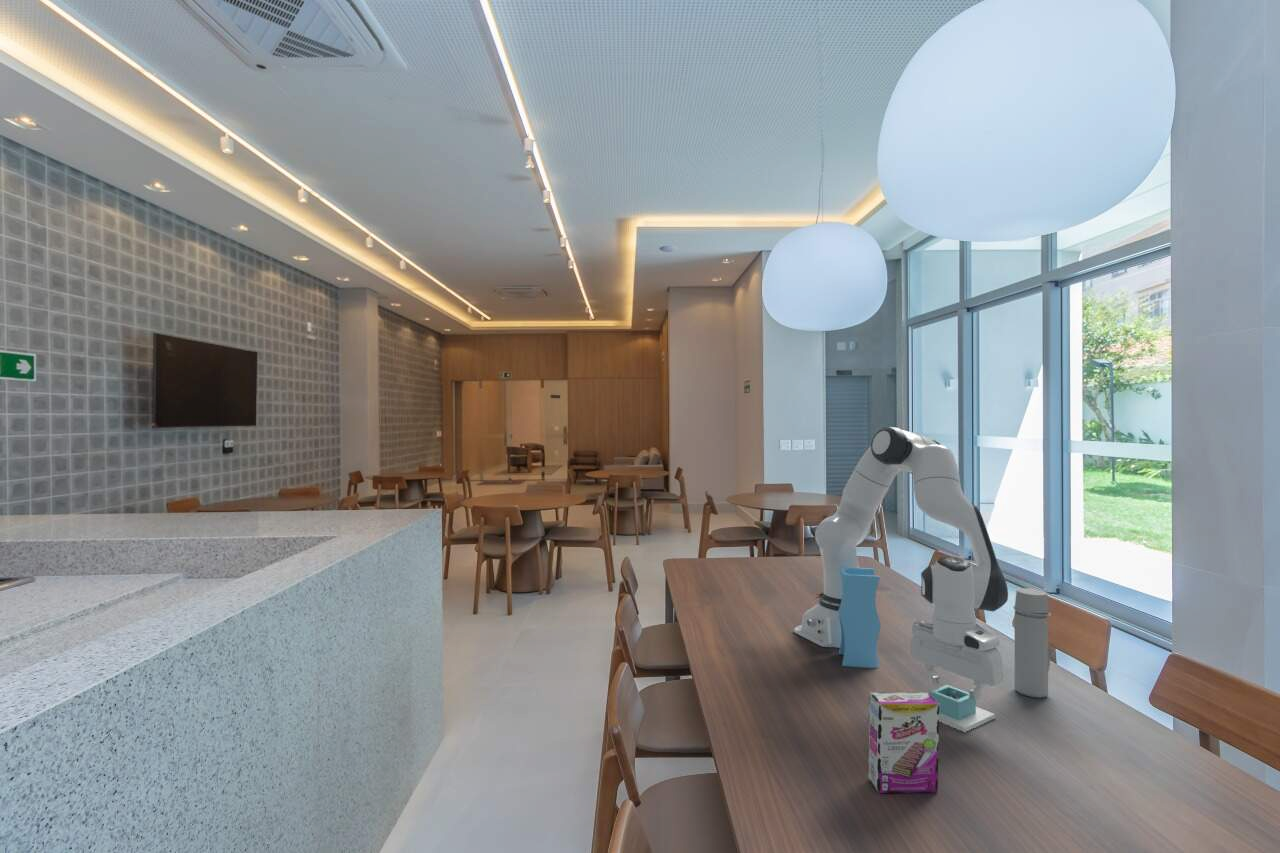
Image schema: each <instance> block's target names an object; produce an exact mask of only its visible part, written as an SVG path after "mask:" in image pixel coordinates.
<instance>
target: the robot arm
mask: <svg viewBox="0 0 1280 853" xmlns="http://www.w3.org/2000/svg"><path fill="white" fill-rule="evenodd" d="M900 472H907V473H909V474H912V477H913V478H912V479H913V490H914V491H913V492H914V499H915V503H916V505H917V507H918V509H919V510H920V511H921V512H922V513H924V514H925V515H926V516H928V517H929V518H931V519H933V520H935V521H937V522H941V523H944V524H946V525H949V526H952V527H954V528H955V529H957V530H960V531H961V532H962V533H963V534H965V536H966V537H967V538H968V541H969V545H970V548H971V550H972V554H973V558H974V561H975V563H976V566H973V565H972V563H971V562H970V561H968V560H966V559H965V558H961V557H957V556H942V557H939V558H937V559H936V560H935V563H934V564H932V565H929V566H927V567H925V569H924V570H923V571H921V572H920V575H921V584H920V585H921V586H920V587H921V591H920V595H921V596H922V597H923V599H925V600H926V601H927V602H928V603H930V604H931V605H934V608H933V611H932V623H929V622H925V621H923V620H917V621H914V623H913V624H912V625H911V633H912V634H911V641H910V648H909V649H910V650H909V654H910V656H911V658H912V659H913V660H916V661H918V662H921V663H924V669H925V670H926V674H927V675H928V676H929V677H928V678H929V680H928V681H929V683H930V684H932V685H935V686H937V685H939V684H940V682H941V681H940V675H937V674H936V671H935V669H934V668H939V669H941V670H943V671H946V672H950V673H952V674H956V675H958V676H960V677H964V678H967V679H970V680H972V681H973V685H974V686H975V687H974V688H972V689H969V691H968V693H969V694H970V695H969V698H971V699H974V700H976V701H978V700H980V699H981V698H980V697H981V691H982V689H984V687H985V686H986V685H987V686H990V687H994V686H997V685H998V684H999V685H1000V683H1002V681H1003V680H1004V665H1003V658H1002V654H1001V652H1000V651H999V649H998V648H997V647H999V646H1000V638H999V637H998V636H997V635H995V634H994V633H992V632H990V631H989V630H987V629H985V628H984V627H982V626H980V625H979V624H978V623H977V618H976V614H975V609H977V610H981V611H985V612H986V611H988V612H996V611H997V610H999V609H1000V608H1003V606H1004V605H1005V604H1006V603H1007V601H1008V599H1009V588H1008V583H1007V581H1006V579H1005V576H1004V574H1003V571H1002V569H1001V567H1000V565H999V562H998V560H997V556H996V554H995V551H994V547H993V544H992V541H991V538H990V536H989V532H988V529H987V526H986V524H985V521H984V519H983V515H982V514H981V511H980V509H979V508H978V506H977V505H975V504H974V503H972V502H970V500H969V499H968V498H967V497H966V495H965V494H964V492H963V490H962V486H961V478H960V472H959V469H958V464H957V460H956V458H955V455H954V453H953V451H952V450H951V449H950V448H948V447H947V446H945V445H942V444H941V443H940V442H939V441H936V440H933V439H930V438H929V437H926V436H924V435H922V434H919V433H916V432H912V431H908V430H903V429H901V428H899V427H894V426H887V427H886V426H885V427H882V428H880V429H879V430H878V431H877V432H876V433H874V435H873V438H872V440H871V444H870V446H869V447H868V448H867V450H866V451H865V452H864V454H863V455H862V456H861V457H860V459H859V460H858V462H857V464H856V466H855V467H854V469H853V471H852V474H851V475H850V477H849V479H848V480H847V483H846V484H845V486H844V488H843V490H842V495H841V500H840V502H839V506H838V507H837V509H836V512H835V513H834V514H833V515H830V516H827V517H826V518H824V519H823V520H822V521H821V522H819V524H818V525H817V527H816V529H815V530H814V531H815V532H814V537H815V538H814V539H815V542H816V544H817V546H819V552H820V557H821V562H822V567H823V591H822V592H820V593H818V594H816V596H815V597H816V599H819V601H818V603H817V604H816V605H813V607H811V608H809V609H807V610H806V611H805V612H804V613H803V615H802V619H801V625H798V626H797V625H796V627H794V629H793V633H795V634H797V635H798V636H801V637H802V638H804V639H806V640H808V641H810V642H812V643H814V644H816V645H818V646H820V647H823V648H838V649H840V644H841V625H840V620H839V615H838V610H839V607H840V604H841V600H842V593H843V590H842V580H841V575H840V569H839V568H842V567H849V568H861V567H860V565H859V559H858V555H857V546H858V545H860V544H861V543H863V542H864V541H865V539H866V537H867V535H868V533H869V531H870V528H871V526H872V523H873V520H874V518H875V517H876V513H877V511H878V508H879V507H880V505H881V503H882V501H883V499H884V498H885V497H886V494H887V493H888V491H889V489H890V487H891V485H892V483H893V482H894V479H895V477H896V476H897V475H898V473H900Z"/></svg>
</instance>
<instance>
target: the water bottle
mask: <svg viewBox="0 0 1280 853" xmlns="http://www.w3.org/2000/svg"><path fill="white" fill-rule="evenodd" d="M1048 599H1049V598H1048V593H1047V592H1046V591H1044V590H1039V589H1036V588H1027V587H1024V588H1023V587H1022V588H1017V589H1016V593H1015V602H1014V603H1015V604H1014V606H1013V609H1014V689H1015V691H1017V692H1018V693H1019V694H1021V695H1023V696H1026V697H1029V698H1034V699H1036V698H1039V699H1040V698H1045V697H1047V696H1048V695H1049V672H1050V666H1051V656H1050V646H1049V617H1051V616H1052V614H1051V613H1050V607H1049V600H1048Z"/></svg>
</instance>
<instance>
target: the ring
mask: <svg viewBox="0 0 1280 853" xmlns="http://www.w3.org/2000/svg"><path fill="white" fill-rule="evenodd" d="M952 691H955V692H956V697H958V699H954V698H951V697H950V696H952ZM929 695H930V696H931V697H932V698H933V699H934V700H936V701H937V702H938V703H939V713H942V714H944V715H946V716H949V717H951V718H954V719H956V720H961V719H963V718H966V717H968V716H970V715H972V714H974V713H976V707H977V704H976V703H977V702H976V701H977V700H974V699H971V698H969V695H970V694H969V691H966V690H963V689H960V688H957V687H954V686H953V685H950V684H945V685H943V686H941V687H937V688H935V689H932V690H930V691H929Z"/></svg>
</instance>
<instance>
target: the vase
mask: <svg viewBox="0 0 1280 853" xmlns="http://www.w3.org/2000/svg"><path fill="white" fill-rule="evenodd" d="M839 569H840V575H841V580H842V590H843V593H842V600H841V604H840V607H839V610H838V615H839V620H840V625H841V644H840V648H838V655H842V657H843V658H842V664H841V665H842V667H851V668H852V667H854V668H866V669H868V668H869V669H878V668H880V664H879V658H878V656H879V655H878V640H879V634H880V631H881V621H880V617H879V615H878V610H877V604H876V601H877V600H876V596H877V589H878V585H879V583H880V579H881V576H880V575H875V568H869V567H868V568H867V567H860V568H849V567H842V568H839Z"/></svg>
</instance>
